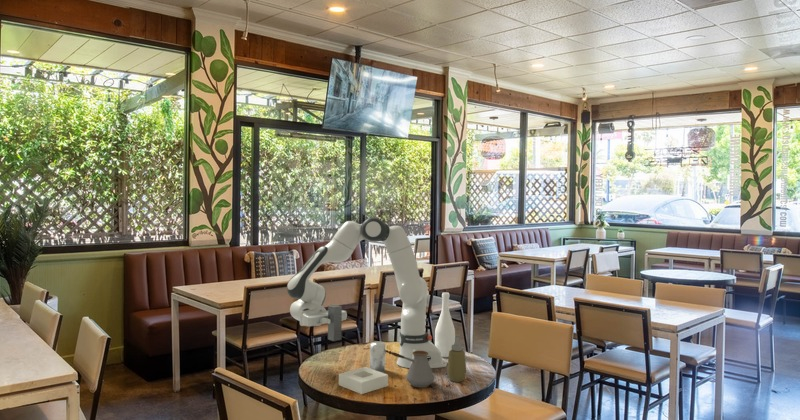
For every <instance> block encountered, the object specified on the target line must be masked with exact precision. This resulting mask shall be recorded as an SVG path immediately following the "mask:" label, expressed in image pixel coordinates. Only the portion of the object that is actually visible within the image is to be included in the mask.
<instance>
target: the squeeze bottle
mask: <svg viewBox="0 0 800 420" xmlns="http://www.w3.org/2000/svg"><path fill="white" fill-rule="evenodd" d="M463 349H464V346H463V344H461V342H460V338H459V336H455V343H454V345H452V350H450V351H449V357H447V358H448V361H447V366H446V372H447V376H448V379H449V380H450V381H451V382H456V383H459V382H463V381H464V379H465V377H466V374H467V362H466V352H465V350H463Z"/></svg>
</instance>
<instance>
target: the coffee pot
mask: <svg viewBox="0 0 800 420" xmlns="http://www.w3.org/2000/svg"><path fill="white" fill-rule="evenodd" d="M386 353H387V354H388V355H392V356H394V357H397V358H398V357H400V358H403V359H407V360H409V361H412V364H411V366H410V368H408V371H407V373H406V376H405V379H406V381H407V382H408V383H409V384H410V386H412V387H414V388H427V387H429V386H430V385H432V383H433V382H434V380H435V375H434V373H433V370H432V368H431V367H430V365H429V362H428V360H427V355H428V352H426V351H414V352H413V355H414V359H410V358H407V357H404V356H402V355H400V354H399V353H396V352H394V351H393V352H392V351H391V350H386V349H385V354H384V352H383V355H385V356H386Z"/></svg>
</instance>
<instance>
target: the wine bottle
mask: <svg viewBox="0 0 800 420" xmlns="http://www.w3.org/2000/svg"><path fill="white" fill-rule="evenodd" d="M441 293H442V294H441V298H442V300H441V312H440V315H439V318H438V320H437V324H436V327H435V329H434V345H435V346H436V347H437V348H439V350H440V352H441V356H442V358H449V351H450V350H452V345H454V343H455V339H456V329H455V326H454V322H453V319H452V316H451V313H450V293H449V292H445V291H444V292H441Z"/></svg>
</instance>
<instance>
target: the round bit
mask: <svg viewBox="0 0 800 420" xmlns="http://www.w3.org/2000/svg"><path fill="white" fill-rule="evenodd" d="M369 345H370V346H369V368H370V369H373V370H376V371H379V372H382V373H385V372H386V354H385V350H386V342H384V341H381V340H379V341H371V342H370V343H369ZM383 352H384V354H385V355H383Z"/></svg>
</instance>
